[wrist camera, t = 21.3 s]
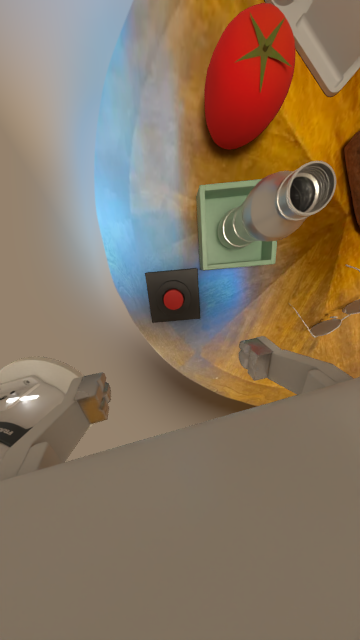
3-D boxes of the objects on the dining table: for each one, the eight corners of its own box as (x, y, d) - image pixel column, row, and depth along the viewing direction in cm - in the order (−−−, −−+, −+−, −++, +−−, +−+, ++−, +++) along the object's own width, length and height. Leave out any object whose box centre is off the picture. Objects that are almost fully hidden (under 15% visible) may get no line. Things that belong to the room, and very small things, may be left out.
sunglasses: (303, 333, 40) (318, 339, 35) (283, 304, 39) (295, 306, 34) (363, 295, 37) (388, 297, 33) (342, 263, 37) (365, 260, 32)
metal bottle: (212, 216, 32) (265, 148, 13) (250, 207, 31) (361, 124, 12) (217, 253, 34) (269, 243, 15) (252, 246, 33) (352, 224, 14)
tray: (199, 269, 35) (203, 270, 31) (196, 196, 31) (199, 185, 27) (262, 263, 35) (275, 263, 31) (267, 189, 31) (282, 176, 27)
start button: (165, 308, 34) (164, 310, 32) (163, 289, 33) (162, 291, 31) (183, 306, 34) (184, 308, 32) (182, 287, 33) (182, 289, 31)
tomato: (187, 140, 29) (193, 72, 19) (220, 59, 26) (248, -73, 16) (241, 175, 30) (273, 131, 20) (278, 103, 28) (337, 9, 17)
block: (153, 319, 39) (150, 325, 35) (146, 272, 35) (143, 273, 32) (199, 315, 38) (201, 321, 35) (196, 268, 35) (198, 268, 31)
